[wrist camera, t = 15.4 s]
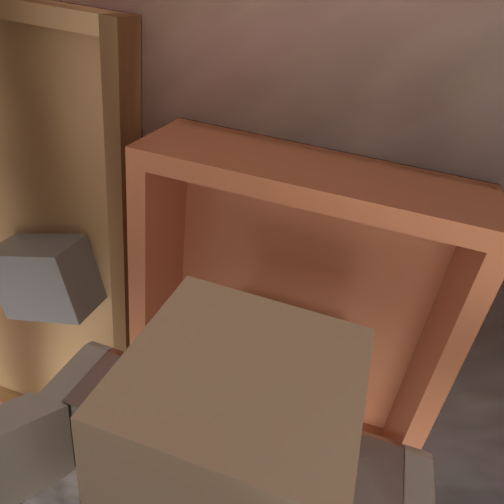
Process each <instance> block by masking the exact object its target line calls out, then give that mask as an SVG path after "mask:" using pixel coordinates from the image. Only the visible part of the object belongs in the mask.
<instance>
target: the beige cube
mask: <svg viewBox="0 0 504 504" xmlns="http://www.w3.org/2000/svg"><path fill="white" fill-rule="evenodd" d="M374 330H375V329H373V328H369V327H366V326H362V325H359V324H355V323H352V322H348V321H345V320H341V319H338V318H334V317H331V316H327V315H324V314H320V313H317V312H313V311H310V310H306V309H303V308H299V307H296V306H292V305H289V304H285V303H282V302H278V301H275V300H271V299H268V298H264V297H261V296H257V295H254V294H250V293H247V292H243V291H240V290H236V289H233V288H229V287H226V286H222V285H219V284H215V283H212V282H208V281H205V280H201V279H198V278H194V277H191V276H187V277H186V278H185V279H184V280H183V281H182V283H181V284H180V285H179V286H178V287H177V289H176V290H175V291H174V292H173V294H172V295H171V296H170V297H169V298H168V300H167V301H166V302H165V303H164V304H163V306H162V307H161V308H160V309H159V311H158V312H157V313H156V314H155V315H154V317H153V318H152V319H151V320H150V321H149V323H148V324H147V325H146V326H145V328H144V329H143V330H142V331H141V332H140V334H139V335H138V336H137V337H136V339H135V340H134V341H133V342H132V343H131V345H130V346H129V347H128V348H127V349H126V351H125V352H124V353H123V354H122V356H121V357H120V358H119V359H118V360H117V362H116V363H115V364H114V365H113V366H112V368H111V369H110V370H109V371H108V373H107V374H106V375H105V376H104V377H103V379H102V380H101V381H100V382H99V383H98V385H97V386H96V387H95V388H94V390H93V391H92V392H91V393H90V394H89V396H88V397H87V398H86V399H85V400H84V402H83V403H82V404H81V405H80V407H79V408H78V409H77V410H76V411H75V413H74V414H73V415H72V416H71V417H70V420H71V428H72V437H73V445H74V454H75V462H76V471H77V480H78V488H79V497H80V504H353V500H354V492H355V484H356V475H357V467H358V459H359V451H360V443H361V435H362V427H363V419H364V411H365V403H366V395H367V387H368V379H369V371H370V362H371V354H372V346H373V338H374Z"/></svg>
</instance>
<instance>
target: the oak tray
mask: <svg viewBox="0 0 504 504" xmlns="http://www.w3.org/2000/svg"><path fill="white" fill-rule="evenodd" d="M140 138H142V81H141V15H137V14H131V13H125V12H119V11H113V10H107V9H101V8H95V7H89V6H83V5H77V4H71V3H65V2H59V1H53V0H0V242H2V241H4V240H5V239H7V238H9V237H10V236H12V235H14V234H15V233H67V234H87V235H88V238H89V241H90V244H91V247H92V250H93V254H94V257H95V260H96V263H97V266H98V269H99V272H100V275H101V278H102V282H103V285H104V288H105V291H106V294H107V298H106V299H105V300H104V301H103V302H102V303H101V304H100V305H99V306H98V307H97V308H96V309H95V310H94V311H93V312H92V313H91V314H90V315H89V316H88V317H87V318H86V319H85V320H84V321H83V322H82V323H81V324H80V325H72V324H60V323H48V322H36V321H24V320H12V319H7V317H6V315H5V313H4V310H3V308H2V306H1V304H0V404H1V403H4V402H6V401H9V400H11V399H14V398H16V397H19V396H22V395H24V394H27V393H29V392H34V393H37V394H38V393H39V392H40V391H41V390H42V389H43V388H44V387H45V385H46V384H47V383H48V382H49V381H50V380H51V379H52V378H53V377H54V376H55V375H56V374H57V373H58V372H59V371H60V370H61V369H62V368H63V367H64V366H65V365H66V364H67V363H68V362H69V360H70V359H71V358H72V357H73V356H74V355H75V354H76V353H77V352H78V351H79V350H80V349H81V348H82V347H83V346H84V345H85V344H87V343H89V342H91V341H95V342H98V343H100V344H103V345H106V346H109V347H112V348H115V349H118V350H121V351H124V352H125V351H126V349H127V348H128V347H129V346H130V334H129V290H128V246H127V202H126V158H125V146H127V145H129V144H131V143H133V142H135V141H137V140H139V139H140Z"/></svg>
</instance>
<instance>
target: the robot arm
mask: <svg viewBox="0 0 504 504" xmlns="http://www.w3.org/2000/svg"><path fill="white" fill-rule="evenodd" d="M123 353H124V351H121V350H118V349H115V348H112V347H109V346H106V345H103V344H100V343H98V342H95V341H91V342H89V343H87V344H85V345H84V346H83V347H82V348H81V349H80V350H79V351H78V352H77V353H76V354H75V355H74V356H73V357H72V358H71V359H70V360H69V362H68V363H67V364H66V365H65V366H64V367H63V368H62V369H61V370H60V371H59V372H58V373H57V374H56V375H55V376H54V377H53V378H52V379H51V380H50V381H49V382H48V383H47V384H46V385H45V387H44V388H43V389H42V390H41V391H40V392H39V393H38V394H37V393H34V392H29V393H27V394H24V395H22V396H19V397H16V398H14V399H11V400H9V401H6V402H4V403H1V404H0V504H22V503H23V502H25V501H26V500H28V499H29V498H31V497H33V496H34V495H36V494H37V493H39V492H41V491H42V490H44V489H45V488H47V487H48V486H50V485H52V484H53V483H55V482H56V481H58V480H60V479H61V478H63V477H64V476H66V475H67V474H69V473H71V472H72V471H74V470H75V467H76V462H75V454H74V445H73V437H72V428H71V420H70V417H71V416H72V415H73V414H74V413H75V411H76V410H77V409H78V408H79V407H80V405H81V404H82V403H83V402H84V400H85V399H86V398H87V397H88V396H89V394H90V393H91V392H92V391H93V390H94V388H95V387H96V386H97V385H98V383H99V382H100V381H101V380H102V379H103V377H104V376H105V375H106V374H107V373H108V371H109V370H110V369H111V368H112V366H113V365H114V364H115V363H116V362H117V360H118V359H119V358H120V357H121V356H122V354H123ZM353 504H435V486H434V463H433V457H432V454H431V453H430V452H427V451H424V450H421V449H418V448H414V447H411V446H408V445H405V444H403V445H402V443H400V442H397V441H394V440H391V439H388V438H384V437H381V436H378V435H375V434H372V433H369V432H366V431H362V435H361V443H360V451H359V459H358V467H357V475H356V484H355V492H354V500H353Z"/></svg>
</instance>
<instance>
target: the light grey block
mask: <svg viewBox="0 0 504 504" xmlns="http://www.w3.org/2000/svg"><path fill="white" fill-rule="evenodd" d="M106 298H107V294H106V291H105V288H104V285H103V282H102V278H101V275H100V272H99V269H98V266H97V263H96V260H95V257H94V254H93V250H92V247H91V244H90V241H89V238H88V235H87V234H67V233H15V234H14V235H12V236H10V237H9V238H7V239H5V240H4V241H2V242H0V304H1V306H2V308H3V310H4V313H5V315H6V317H7V319H12V320H24V321H36V322H48V323H60V324H72V325H80V324H81V323H82V322H83V321H84V320H85V319H86V318H87V317H88V316H89V315H90V314H91V313H92V312H93V311H94V310H95V309H96V308H97V307H98V306H99V305H100V304H101V303H102V302H103V301H104V300H105V299H106Z"/></svg>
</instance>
